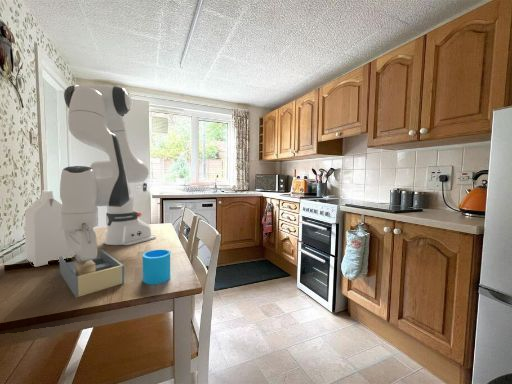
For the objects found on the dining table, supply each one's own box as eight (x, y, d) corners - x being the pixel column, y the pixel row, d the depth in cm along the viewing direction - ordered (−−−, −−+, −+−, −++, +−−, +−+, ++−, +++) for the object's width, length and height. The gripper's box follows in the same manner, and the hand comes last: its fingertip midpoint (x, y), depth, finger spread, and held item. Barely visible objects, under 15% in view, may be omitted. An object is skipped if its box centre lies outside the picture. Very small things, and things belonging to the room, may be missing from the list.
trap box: (101, 263, 87) (101, 248, 87) (124, 282, 72) (123, 265, 72) (59, 273, 78) (59, 256, 78) (75, 297, 64) (75, 277, 63)
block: (92, 272, 72) (91, 260, 72) (95, 277, 69) (95, 263, 69) (75, 276, 69) (75, 263, 69) (79, 281, 66) (78, 267, 66)
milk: (74, 257, 92) (72, 190, 90) (35, 266, 83) (31, 192, 81) (62, 251, 99) (60, 189, 97) (25, 259, 89) (21, 190, 87)
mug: (172, 281, 75) (172, 255, 74) (143, 286, 71) (143, 259, 70) (166, 267, 85) (166, 245, 84) (141, 271, 81) (140, 248, 80)
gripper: (103, 225, 66) (104, 273, 67) (84, 215, 79) (85, 255, 80) (75, 228, 61) (77, 281, 62) (60, 217, 75) (61, 260, 76)
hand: (81, 266), depth 71 cm, fingers closed
